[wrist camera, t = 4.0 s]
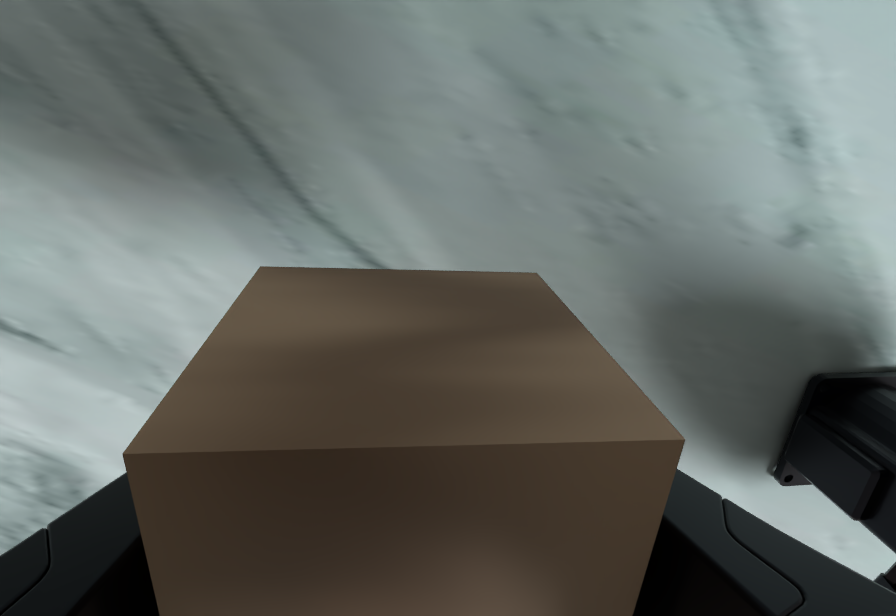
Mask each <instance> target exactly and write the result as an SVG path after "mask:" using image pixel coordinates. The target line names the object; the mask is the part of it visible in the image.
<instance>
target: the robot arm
mask: <svg viewBox="0 0 896 616" xmlns="http://www.w3.org/2000/svg"><path fill="white" fill-rule="evenodd" d="M774 478H775V480H776V481H777V482H778V483H779V484H781V485H782V486H796V485H812V484H813V485H814V486H815V487H816V488H817V489H818V490H819V491H821V492H822V493H823V494H824V495H825V496H826V497H827V498H828V499H830V500H831V501H832V502H833V503H834V504H835V505H836V506H837V507H839V508H840V509H841V510H842V511H843V512H844V513H845V514H846V515H848V516H849V517H850V518H851V519H853V520H856V521H859V522H860V523H861V524H862V525H864V526H865V527H866V528H867V529H868V530H869V531H870V532H872V533H873V534H874V535H875V536H876V537H877V538H878V539H880V540H881V541H882V542H883V543H884V544H885V545H886V546H888V547H889V548H890V549H891V550H892V551H893V552H894V553H895V554H896V372H875V373H839V374H819V375H816V376H815V377H813V378H812V379H811V380H810V382H809V384H808V387H807V389H806V392H805V395H804V397H803V400H802V402H801V405H800V408H799V410H798V413H797V416H796V418H795V421H794V423H793V426H792V429H791V431H790V434H789V436H788V439H787V442H786V444H785V447H784V450H783V452H782V455H781V457H780V460H779V463H778V465H777V468H776V470H775V473H774ZM0 616H160V615H159V610H158V606H157V602H156V597H155V593H154V589H153V584H152V580H151V576H150V571H149V567H148V563H147V558H146V554H145V549H144V545H143V541H142V536H141V532H140V528H139V523H138V519H137V515H136V510H135V506H134V502H133V497H132V493H131V489H130V484H129V480H128V476H127V472H126V473H125V474H123V475H122V476H120V477H118V478H117V479H115V480H114V481H112V482H111V483H109V484H108V485H106V486H105V487H103V488H102V489H100V490H99V491H97V492H96V493H94V494H93V495H91V496H90V497H88V498H87V499H85V500H84V501H82V502H81V503H79V504H78V505H76V506H75V507H73V508H72V509H70V510H69V511H67V512H66V513H64V514H63V515H61V516H60V517H58V518H57V519H55V520H54V521H52V522H51V523H49V524H48V526H47V529H46V528H42V529H40V530H39V531H37V532H36V533H34V534H33V535H31V536H30V537H28V538H27V539H25V540H24V541H22V542H21V543H19V544H18V545H16V546H15V547H13V548H11V549H10V550H8V551H7V552H5V553H4V554H2V555H1V556H0ZM633 616H896V562H895V563H894V564H893V565H892V566H891V567H890V569H889V570H888V571H887V572H886V573H885V574H884V573H881V574H880V575H879V576H878V577H877V578H876V579H875V580H874V581H872V580H870V579H868V578H866V577H865V576H863V575H861V574H859V573H857V572H855V571H853V570H851V569H850V568H848V567H846V566H844V565H842V564H840V563H838V562H836V561H835V560H833V559H831V558H829V557H827V556H825V555H823V554H821V553H820V552H818V551H816V550H814V549H812V548H811V547H809V546H807V545H805V544H803V543H801V542H800V541H798V540H796V539H794V538H792V537H790V536H789V535H787V534H785V533H783V532H781V531H780V530H778V529H776V528H774V527H773V526H771V525H769V524H768V523H766V522H764V521H763V520H761V519H759V518H757V517H756V516H754V515H752V514H751V513H749V512H747V511H746V510H744V509H742V508H741V507H739V506H737V505H736V504H734V503H733V502H731V501H729V500H728V499H723V500H722V497H721V495H719V494H718V493H716V492H714V491H713V490H711V489H709V488H708V487H706V486H704V485H703V484H701V483H700V482H698V481H696V480H695V479H693V478H691V477H690V476H688V475H686V474H685V473H683V472H681V471H680V470H678V469H676V472H675V475H674V479H673V482H672V485H671V489H670V492H669V495H668V499H667V502H666V505H665V509H664V512H663V515H662V519H661V522H660V526H659V529H658V532H657V536H656V539H655V542H654V546H653V549H652V552H651V556H650V559H649V562H648V566H647V569H646V572H645V576H644V579H643V582H642V586H641V589H640V592H639V596H638V599H637V602H636V606H635V609H634V612H633Z"/></svg>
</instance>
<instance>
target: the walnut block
mask: <svg viewBox="0 0 896 616" xmlns="http://www.w3.org/2000/svg"><path fill="white" fill-rule="evenodd" d="M684 442H685V439H684V437H683V436H682V435H681V434H680V433H679V432H678V431H677V430H676V428H675V427H674V426H673V425H672V424H671V423H670V422H669V421H668V419H667V418H666V417H665V416H664V415H663V414H662V413H661V412H660V411H659V409H658V408H657V407H656V406H655V405H654V404H653V403H652V402H651V400H650V399H649V398H648V397H647V396H646V395H645V394H644V393H643V391H642V390H641V389H640V388H639V387H638V386H637V385H636V384H635V382H634V381H633V380H632V379H631V378H630V377H629V376H628V375H627V374H626V372H625V371H624V370H623V369H622V368H621V367H620V366H619V365H618V363H617V362H616V361H615V360H614V359H613V358H612V357H611V356H610V354H609V353H608V352H607V351H606V350H605V349H604V348H603V347H602V345H601V344H600V343H599V342H598V341H597V340H596V339H595V338H594V337H593V335H592V334H591V333H590V332H589V331H588V330H587V329H586V328H585V326H584V325H583V324H582V323H581V322H580V321H579V320H578V319H577V317H576V316H575V315H574V314H573V313H572V312H571V311H570V310H569V308H568V307H567V306H566V305H565V304H564V303H563V302H562V301H561V300H560V298H559V297H558V296H557V295H556V294H555V293H554V292H553V291H552V289H551V288H550V287H549V286H548V285H547V284H546V283H545V282H544V280H543V279H542V278H541V277H540V276H539V275H538V274H537V273H523V272H479V271H436V270H392V269H348V268H304V267H261V266H260V268H259V269H258V270H257V272H256V273H255V274H254V276H253V277H252V279H251V280H250V281H249V283H248V284H247V285H246V287H245V288H244V289H243V291H242V292H241V293H240V295H239V296H238V298H237V299H236V300H235V302H234V303H233V304H232V306H231V307H230V308H229V310H228V311H227V313H226V314H225V315H224V317H223V318H222V319H221V321H220V322H219V323H218V325H217V326H216V327H215V329H214V330H213V332H212V333H211V334H210V336H209V337H208V338H207V340H206V341H205V342H204V344H203V345H202V347H201V348H200V349H199V351H198V352H197V353H196V355H195V356H194V357H193V359H192V360H191V361H190V363H189V364H188V366H187V367H186V368H185V370H184V371H183V372H182V374H181V375H180V376H179V378H178V379H177V381H176V382H175V383H174V385H173V386H172V387H171V389H170V390H169V391H168V393H167V394H166V396H165V397H164V398H163V400H162V401H161V402H160V404H159V405H158V406H157V408H156V409H155V410H154V412H153V413H152V415H151V416H150V417H149V419H148V420H147V421H146V423H145V424H144V425H143V427H142V428H141V430H140V431H139V432H138V434H137V435H136V436H135V438H134V439H133V440H132V442H131V443H130V444H129V446H128V447H127V449H126V450H125V451H124V453H123V458H124V463H125V467H126V471H127V476H128V480H129V484H130V489H131V493H132V497H133V502H134V506H135V510H136V515H137V519H138V523H139V528H140V532H141V536H142V541H143V545H144V549H145V554H146V558H147V563H148V567H149V571H150V576H151V580H152V584H153V589H154V593H155V597H156V602H157V606H158V610H159V615H160V616H633V612H634V609H635V606H636V602H637V599H638V596H639V592H640V589H641V586H642V582H643V579H644V576H645V572H646V569H647V566H648V562H649V559H650V556H651V552H652V549H653V546H654V542H655V539H656V536H657V532H658V529H659V526H660V522H661V519H662V515H663V512H664V509H665V505H666V502H667V499H668V495H669V492H670V489H671V485H672V482H673V479H674V475H675V472H676V469H677V465H678V462H679V459H680V455H681V452H682V449H683V445H684Z"/></svg>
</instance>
